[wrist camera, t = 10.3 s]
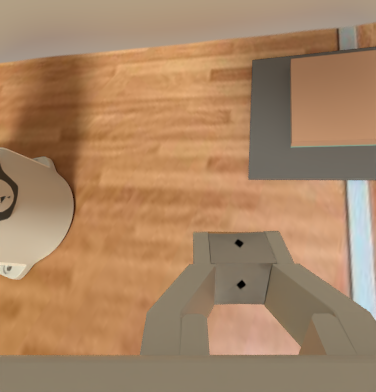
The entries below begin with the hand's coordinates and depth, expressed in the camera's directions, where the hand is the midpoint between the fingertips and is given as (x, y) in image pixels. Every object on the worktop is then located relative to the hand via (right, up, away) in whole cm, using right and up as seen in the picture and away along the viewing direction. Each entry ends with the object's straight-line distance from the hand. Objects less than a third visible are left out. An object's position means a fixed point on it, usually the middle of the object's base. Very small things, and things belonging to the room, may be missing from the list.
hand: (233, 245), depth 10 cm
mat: (+17, +12, +24) cm, 32 cm away
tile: (+16, +8, +22) cm, 28 cm away
